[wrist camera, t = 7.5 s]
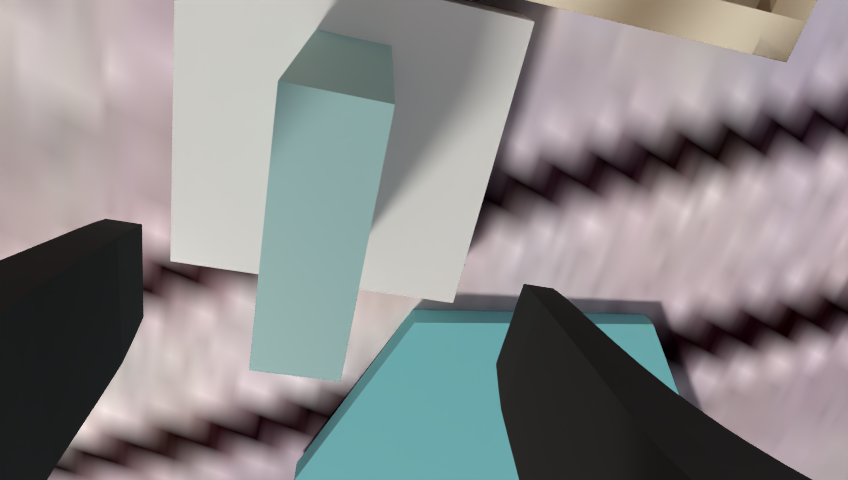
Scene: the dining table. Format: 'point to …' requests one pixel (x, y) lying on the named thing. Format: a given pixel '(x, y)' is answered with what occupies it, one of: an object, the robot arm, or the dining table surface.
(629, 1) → the wooden tray
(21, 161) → the dining table surface
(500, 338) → the plaque
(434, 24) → the tile
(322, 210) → the panel
